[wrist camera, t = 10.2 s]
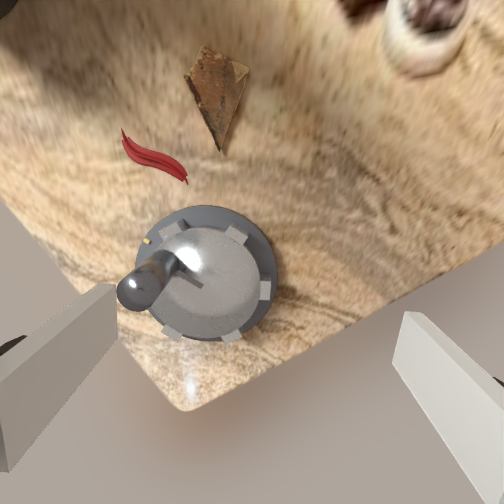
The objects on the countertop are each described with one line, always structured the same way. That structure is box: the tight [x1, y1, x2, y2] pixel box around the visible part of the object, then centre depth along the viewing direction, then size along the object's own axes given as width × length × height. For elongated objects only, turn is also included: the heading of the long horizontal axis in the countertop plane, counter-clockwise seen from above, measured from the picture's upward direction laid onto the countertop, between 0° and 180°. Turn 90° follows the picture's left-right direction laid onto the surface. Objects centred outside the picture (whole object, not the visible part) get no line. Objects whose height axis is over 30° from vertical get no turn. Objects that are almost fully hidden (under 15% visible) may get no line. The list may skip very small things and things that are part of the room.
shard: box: [184, 45, 249, 151], centre depth 40 cm, size 11×8×2 cm
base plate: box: [135, 205, 278, 341], centre depth 46 cm, size 21×21×2 cm
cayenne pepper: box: [121, 128, 188, 185], centre depth 42 cm, size 12×5×2 cm, turn 42°
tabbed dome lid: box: [116, 218, 271, 345], centre depth 39 cm, size 18×19×13 cm
